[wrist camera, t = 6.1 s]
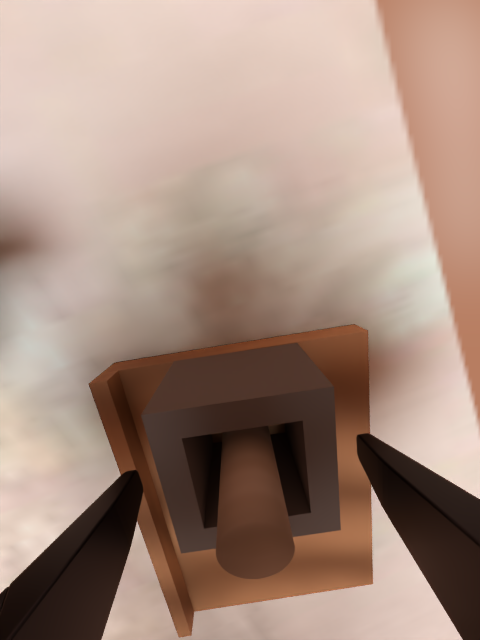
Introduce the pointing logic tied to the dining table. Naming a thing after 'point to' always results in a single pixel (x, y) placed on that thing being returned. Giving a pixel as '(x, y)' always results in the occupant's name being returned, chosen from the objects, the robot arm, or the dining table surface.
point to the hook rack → (249, 487)
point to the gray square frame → (237, 414)
